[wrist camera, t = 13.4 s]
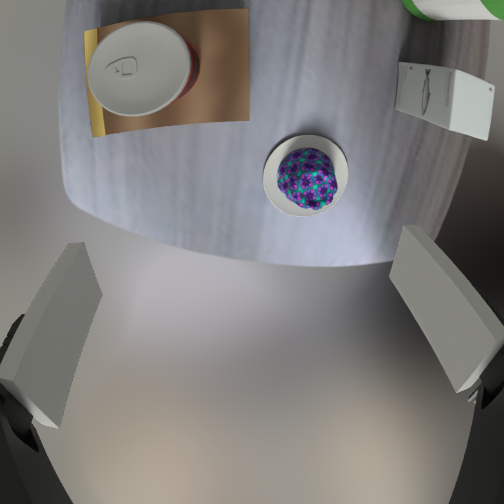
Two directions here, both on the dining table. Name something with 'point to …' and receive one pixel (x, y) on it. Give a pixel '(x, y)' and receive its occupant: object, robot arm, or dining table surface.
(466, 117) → the supplement box
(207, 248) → the dining table surface
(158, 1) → the dining table surface
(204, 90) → the wooden block
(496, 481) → the robot arm
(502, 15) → the wine bottle
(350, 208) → the dining table surface
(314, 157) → the pudding
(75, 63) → the dining table surface
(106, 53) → the canned food
